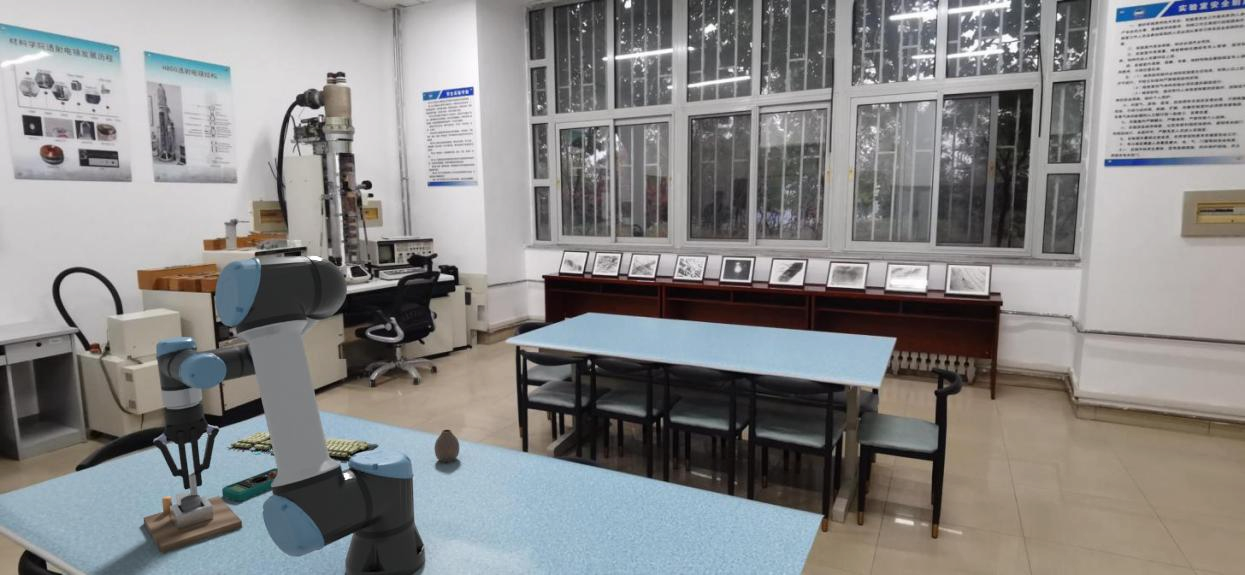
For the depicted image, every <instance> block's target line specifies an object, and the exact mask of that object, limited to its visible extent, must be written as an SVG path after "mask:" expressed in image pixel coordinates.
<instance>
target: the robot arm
mask: <svg viewBox="0 0 1245 575" xmlns="http://www.w3.org/2000/svg"><path fill="white" fill-rule="evenodd" d="M347 292H348V285H347V280H346V278H345V276H344V274H343V272H342V271H341V269H340V268H339V267H338V266H337V265H336V264H334V263H333V261H330V260H328V259H326V258H324V257H321V256H317V255H309V254H306V255H299V256H298V255H297V256H296V255H295V256H277V257H275V256H274V257H273V256H272V257H258V258H257V257H251V258H249V259H248V258H247V259H241V260H239V259H238V260H234V261H230V262H229V263H227V264H226V265H225V266H224V267H223V268H222V270H221V271H220V273H219V275H218V278H217V281H216V286H215V292H214V293H215V298H214V300H215V309H216V313H217V316H218V318H219V319H220V322H221V323H222V324H223V325H224V326H226V327H227V326H228V327H232V328H233V327H234V328H235V332H236V336H237V338H238V339H240V340H242V341H245V342H246V343H243V344H238V345H232V346H228V347H222V348H221V347H220V348H214V349H208V350H203V351H199V350H198V346H197V344H196V340H195V338H193V337H191V336H190V337H189V336H181V337H178V336H177V337H171V338H166V339H163V340H160V341H159V342H157V343H156V345H155V346H156V347H155V349H156V350H155V351H156V352H155V353H156V356H155V359H156V360H157V362H156V363H157V368H158V375H159V377H158V378H159V382H160V383H159V384H160V392H161V394H160V395H161V401H162V402H161V403H162V406H163V407H164V408H163V416H164V424H165V426H164V429H163V433H162V434H161V435H159V436H158V437H154V438H153V445H154V446H155V447H156V448H158V449H159V450H160V453H161V454H162V456H163V458H164V460H165V462H166V464H167V466H168V468H169V471H170V472H171V475H172V476H173V477H175V478H176V477H181V478H182V484H183V488H184V490H189V491H190V492H189V494H190V495H199V494H198V487H201V486H203V480H202V479H203V478H202V472H204V471H205V470H208V469H210V465H211V461H212V455H213V450H214V444H215V439H216V437H217V436H218V434H219V432H220V428H219V426H217V425H210V424H208V421H207V420H206V419H205V411H204V403H203V402H202V400H203V393H202V390H208V389H212V388H214V387H216V386H218V385H219V384H221V383H222V382H227V381H231V380H236V379H240V378H245V377H250V376H251V377H252V376H256V380H257V385H258V390H259V393H260V398H261V402H262V407H263V411H264V416H265V420H266V425H267V429H268V433H269V434H270V439H269V440H271V443H272V448H271V449H272V451H273V452H274V455H273V456H274V459H275V464H276V468H277V470H278V474H277V476H276V477H275V479H274V481H273V482H272V484H271V488H272V489H271V492H272V495H270V496H268V498H267V499H265V501H264V502H263V505H262V509H263V510H262V519H263V523H264V525H265V527H266V528H265V529H266V531H267V532H268V533H267V534H269V537H270V538H271V540H272V542H273V543H274V544H275V545H276V546H277V547H278V549H279V550H280V551H281V552H283V553H285V554H286V555H287V556H291V557H295V558H296V557H302V556H305V555H307V554H309V553H310V554H311V553H312V552H315V551H320V550H322V549H323V548H324V547H326V546H329V545H330V544H333V543H335V542H336V541H337V542H338V541H339V540H341V539H344V538H345V537H348V536H350V535H351V540H350V544H349V546H348V550H347V553H346V557H345V564H344V566H345V567H344V568H345V575H413V574H414V573H415V572H416V571H418V570H419V569H420V568H422V566H423V564H424V562H425V559H426V550H425V544H424V542H423V539H422V537H421V534H420V531H419V529H418V528H417V525H416V522H415V502H414V481H413V480H414V474H415V473H413V465H412V459H411V458H410V456H408V455H407V454H406V453H404V452H401V451H398V450H390V449H373V450H371V451H365V452H360V453H357V454H355V455H353V456H352V457H351V458H350V459H349V461H348V462H347V463H348V468H346V469H344V470H343V468H342V465H341V462H339V461H337V460H336V459H334V460H333V459H331V458H330V457H329V453H328V448H327V444H326V440H325V438H326V436H325V431H324V428H323V423H322V420H321V415H320V410H319V406H318V402H317V398H316V393H315V389H314V384H313V379H312V376H311V371H310V367H309V363H308V359H307V354H306V350H305V346H304V341H303V338H304V336H305V335H306V334H307V333H308V332H309V331H310V330H312V329H313V328H314V327H315V326H316V325H317V324H318V323H319V322H320V321H324V320H328V319H329V318H331V317H332V316H333V315H334V314H335V313H336V312H338V310H340V308H341V307H342V305H343V304H344V302H345V300H346V298H347ZM205 432H206V434H207V437H206V443H205V449H204V455H203V459H202V460H203V461H202V463H201V461H200V451H199V440H200V439H201V437H202V436H203V434H204V433H205ZM167 439H169V440H170V441H172V443H174V444H175V445H177V446H178V447H177V448H178V454H179V456H178V457H179V463H180V468H178V466H177V464H176V462H175V460H174V458H173V456H172V453H171V452H170V450H169V448H168V446H167V443H168V440H167ZM186 444H190V447H191V455H192V466H193V471H192V472H191V471H190V472H189V467H188V460H187V452H186Z"/></svg>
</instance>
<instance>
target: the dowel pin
mask: <svg viewBox="0 0 1245 575" xmlns="http://www.w3.org/2000/svg"><path fill="white" fill-rule="evenodd" d="M172 497H173V496H171V495H168V496H163V497H162V498H161V501H162V502H161V503H162V512H163V513H164V514H169V513H170V506H171V505H173V499H172Z"/></svg>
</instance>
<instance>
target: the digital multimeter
mask: <svg viewBox="0 0 1245 575" xmlns="http://www.w3.org/2000/svg"><path fill="white" fill-rule="evenodd" d="M277 474H278V470H277V467H276V468H275V467H274V468H272V469H271V468H270V469H269V470H265V471H263V472H261V473H258V474H256V475H253V476H250V477H247V478H245V479H242V480H239V481H238V482H236V481H235V482H234V483H231V484H229V485H226V486H224V487H223V488H221V489H222V491H221V492H222V496H223V497H225V498H227V499H229V500H231V501H234V502H240V503H241V502H243V501H245V500H248V499H250V498H252V497H254V496H257V495H259V494H261V493H264V492H267V491H269V490H272V488H271V484H272V482H273V481H274V479H275V477H276V476H277Z"/></svg>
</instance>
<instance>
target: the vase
mask: <svg viewBox="0 0 1245 575" xmlns="http://www.w3.org/2000/svg"><path fill="white" fill-rule="evenodd" d="M433 449H434V455H435V457H436V459H437V460H438V461H439V462H441V463H443V462H448V463H452V462H454V461H455V460H456V459H457V458H458V456H459V453H460V441H459V439H458V437H456V435H455V434H454V433H453V432H452V430H451V429H449V428H448V429H442V431H441V434H440V435H439V436H438V437H437V439H436V440H435V443H434V448H433ZM453 460H454V461H453ZM451 461H452V462H451Z"/></svg>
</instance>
